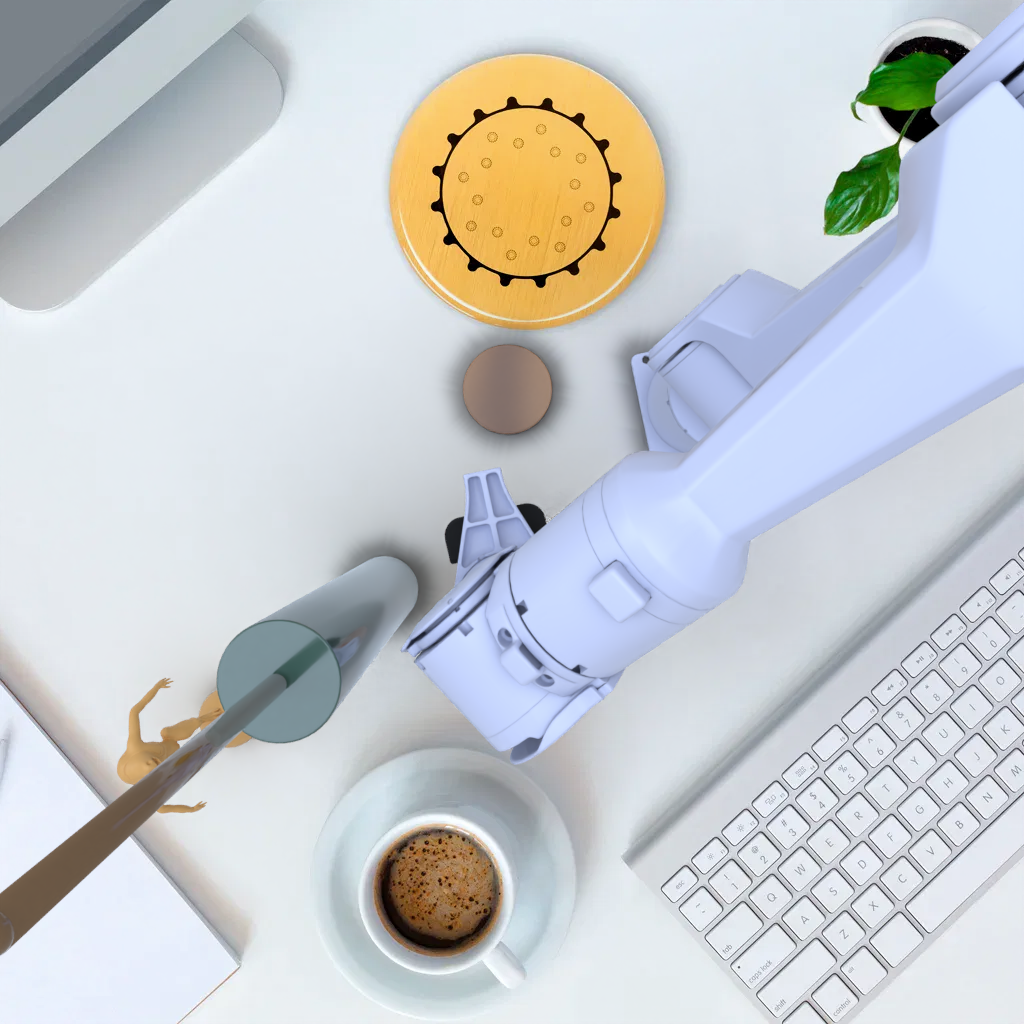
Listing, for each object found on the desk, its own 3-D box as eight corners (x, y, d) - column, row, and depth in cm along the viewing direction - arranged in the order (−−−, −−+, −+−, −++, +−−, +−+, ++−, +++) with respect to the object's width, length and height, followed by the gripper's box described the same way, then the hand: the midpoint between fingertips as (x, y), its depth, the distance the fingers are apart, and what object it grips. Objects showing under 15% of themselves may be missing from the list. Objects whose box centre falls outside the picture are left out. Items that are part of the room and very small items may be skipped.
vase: (410, 549, 65) (85, 774, 15) (424, 615, 65) (149, 1054, 15) (344, 563, 65) (-201, 834, 15) (358, 629, 65) (-134, 1114, 15)
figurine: (282, 760, 65) (231, 823, 53) (198, 782, 65) (127, 850, 53) (250, 643, 65) (192, 680, 53) (165, 666, 65) (87, 707, 53)
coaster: (541, 337, 64) (542, 335, 64) (559, 424, 65) (560, 423, 64) (454, 355, 64) (454, 354, 64) (473, 442, 65) (473, 442, 64)
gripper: (396, 487, 45) (422, 485, 59) (460, 783, 46) (472, 713, 59) (541, 456, 45) (534, 461, 59) (604, 752, 46) (583, 690, 59)
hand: (510, 586), depth 59 cm, fingers closed on pot, 5 cm apart
